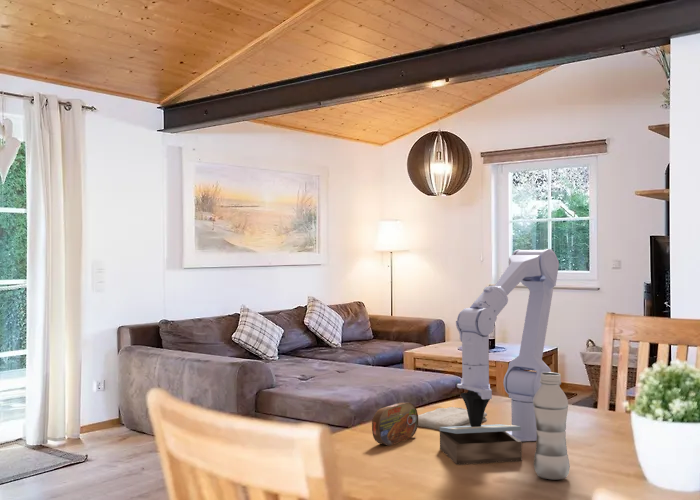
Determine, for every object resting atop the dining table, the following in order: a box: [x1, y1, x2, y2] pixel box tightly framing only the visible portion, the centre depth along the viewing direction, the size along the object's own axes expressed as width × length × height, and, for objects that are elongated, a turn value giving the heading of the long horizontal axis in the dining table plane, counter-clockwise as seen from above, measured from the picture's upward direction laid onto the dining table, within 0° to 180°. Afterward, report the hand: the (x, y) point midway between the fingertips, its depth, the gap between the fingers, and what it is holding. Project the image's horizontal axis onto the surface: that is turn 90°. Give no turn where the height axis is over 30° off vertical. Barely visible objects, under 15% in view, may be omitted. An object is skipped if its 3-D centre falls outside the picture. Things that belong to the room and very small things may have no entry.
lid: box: [439, 423, 521, 434], centre depth 156 cm, size 14×12×1 cm
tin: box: [371, 402, 419, 446], centre depth 168 cm, size 15×3×8 cm, turn 139°
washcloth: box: [418, 406, 488, 431], centre depth 186 cm, size 12×18×3 cm, turn 140°
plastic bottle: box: [533, 371, 571, 481], centre depth 140 cm, size 6×7×20 cm
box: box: [439, 430, 523, 466], centre depth 156 cm, size 14×12×4 cm
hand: (475, 426), depth 158 cm, fingers closed
